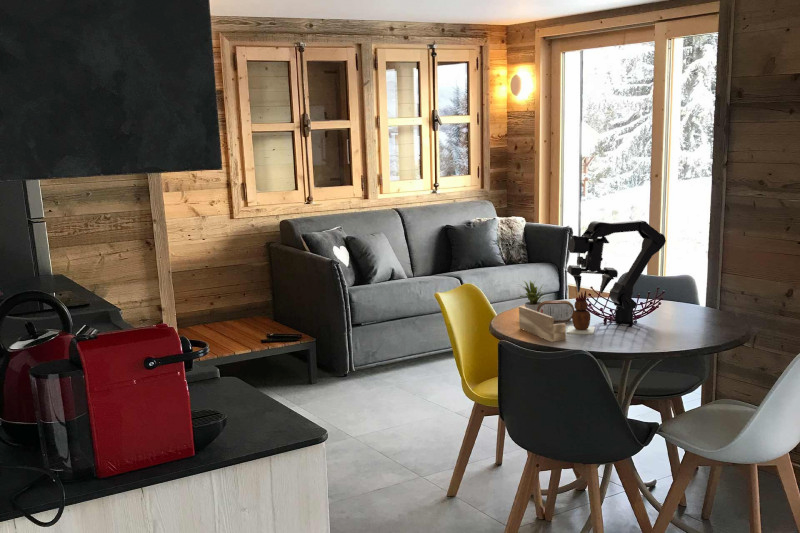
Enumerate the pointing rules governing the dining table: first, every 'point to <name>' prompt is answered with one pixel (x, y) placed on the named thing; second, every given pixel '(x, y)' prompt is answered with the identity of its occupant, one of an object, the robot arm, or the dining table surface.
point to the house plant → (532, 296)
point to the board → (574, 331)
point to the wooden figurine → (581, 313)
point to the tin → (557, 310)
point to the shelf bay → (541, 325)
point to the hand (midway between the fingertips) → (589, 292)
